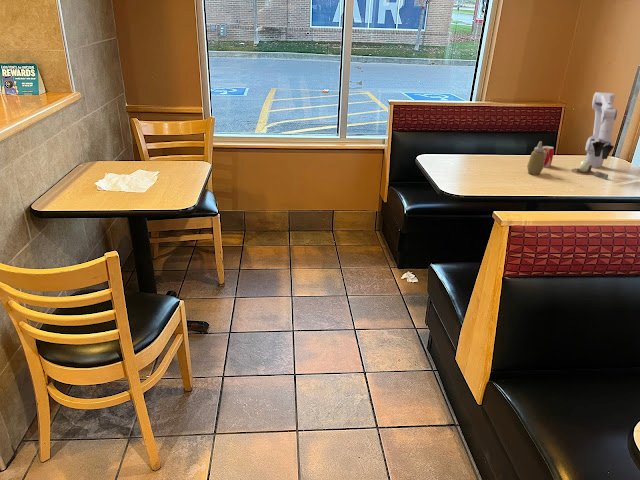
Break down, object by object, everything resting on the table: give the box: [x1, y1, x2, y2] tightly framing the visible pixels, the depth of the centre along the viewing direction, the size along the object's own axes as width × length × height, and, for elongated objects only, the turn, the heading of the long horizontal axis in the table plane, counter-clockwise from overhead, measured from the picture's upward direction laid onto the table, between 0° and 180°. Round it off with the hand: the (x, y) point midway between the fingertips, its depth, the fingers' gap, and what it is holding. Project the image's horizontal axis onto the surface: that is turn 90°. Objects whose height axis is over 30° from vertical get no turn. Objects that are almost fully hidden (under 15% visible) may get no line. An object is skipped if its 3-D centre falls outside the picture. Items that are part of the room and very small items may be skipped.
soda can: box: [542, 145, 555, 168], centre depth 267 cm, size 7×7×12 cm
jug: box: [578, 159, 591, 172], centre depth 258 cm, size 6×4×6 cm
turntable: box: [570, 165, 609, 180], centre depth 256 cm, size 20×12×4 cm, turn 25°
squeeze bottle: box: [526, 140, 545, 176], centre depth 255 cm, size 8×8×18 cm
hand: (600, 157), depth 250 cm, fingers open, 7 cm apart
